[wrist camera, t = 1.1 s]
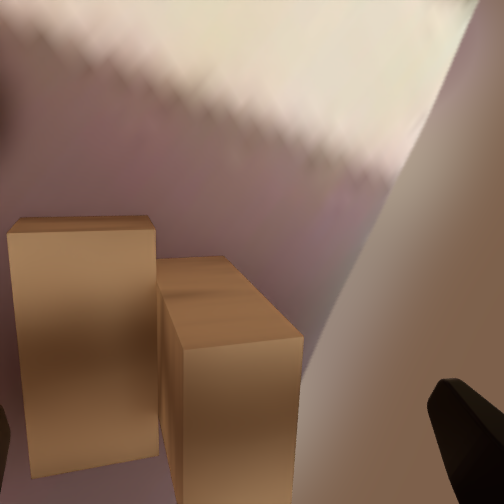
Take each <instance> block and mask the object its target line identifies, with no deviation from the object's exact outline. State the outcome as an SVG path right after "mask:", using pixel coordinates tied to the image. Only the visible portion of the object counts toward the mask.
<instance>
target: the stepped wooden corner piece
mask: <svg viewBox="0 0 504 504" xmlns="http://www.w3.org/2000/svg"><path fill="white" fill-rule="evenodd" d="M7 243H8V253H9V263H10V273H11V282H12V292H13V302H14V312H15V322H16V332H17V342H18V352H19V362H20V372H21V381H22V391H23V401H24V411H25V421H26V431H27V441H28V451H29V461H30V471H31V479H35V478H41V477H46V476H51V475H57V474H62V473H68V472H73V471H78V470H84V469H89V468H95V467H100V466H105V465H111V464H116V463H122V462H127V461H132V460H138V459H143V458H149V457H154V456H159V432H158V416H159V421H160V426H161V431H162V435H163V440H164V445H165V449H166V454H167V459H168V464H169V468H170V473H171V478H172V483H173V487H174V492H175V497H176V501H177V504H291V501H292V487H293V474H294V461H295V448H296V434H297V422H298V407H299V395H300V382H301V369H302V356H303V343H304V336H303V335H302V334H301V333H300V332H299V331H298V330H297V329H296V328H295V327H294V326H293V325H292V324H291V323H290V322H289V321H288V320H287V319H286V318H285V317H284V316H283V315H282V314H281V313H280V312H279V311H278V310H277V309H276V308H275V307H274V306H273V305H272V304H271V303H270V302H269V301H268V300H267V299H266V298H265V297H264V296H263V295H262V294H261V293H260V292H259V291H258V290H257V289H256V288H255V287H254V286H253V285H252V284H251V283H250V282H249V281H248V280H247V279H246V278H245V277H244V276H243V275H242V274H241V273H240V272H239V271H238V270H237V269H236V268H235V267H234V266H233V265H232V264H231V263H230V262H229V261H228V260H227V259H226V258H225V257H224V256H208V257H187V258H166V259H156V229H155V228H154V226H153V224H152V222H151V221H150V219H149V217H148V216H147V215H140V216H83V217H25V218H20V219H19V220H18V221H17V222H16V223H15V224H14V225H13V227H12V228H11V229H10V230H9V231H8V232H7Z"/></svg>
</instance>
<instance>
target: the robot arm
mask: <svg viewBox="0 0 504 504" xmlns="http://www.w3.org/2000/svg"><path fill="white" fill-rule="evenodd" d="M427 409H428V414H429V417H430V420H431V424H432V427H433V430H434V433H435V437H436V440H437V443H438V446H439V449H440V452H441V456H442V459H443V462H444V465H445V469H446V471H447V474H448V477H449V480H450V482H451V485H452V488H453V490H454V493H455V495H456V497H457V500H458V502H459V504H504V414H503V413H502V412H501V411H500V410H498V409H497V408H496V407H495V406H493V405H492V404H491V403H489V402H488V401H487V400H486V399H484V398H483V397H482V396H481V395H480V394H478V393H477V392H476V391H475V390H473V389H472V388H471V387H470V386H468V385H467V384H466V383H465V382H463V381H462V380H460V379H457V378H449V379H441V380H440V381H439V382H438V383H437V385H436V387H435V389H434V390H433V392H432V394H431V396H430V397H429V399H428V402H427ZM9 443H10V427H9V424H8V421H7V418H6V415H5V412H4V409H3V407H2V406H1V405H0V492H1V486H2V481H3V476H4V470H5V465H6V460H7V454H8V449H9Z"/></svg>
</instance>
